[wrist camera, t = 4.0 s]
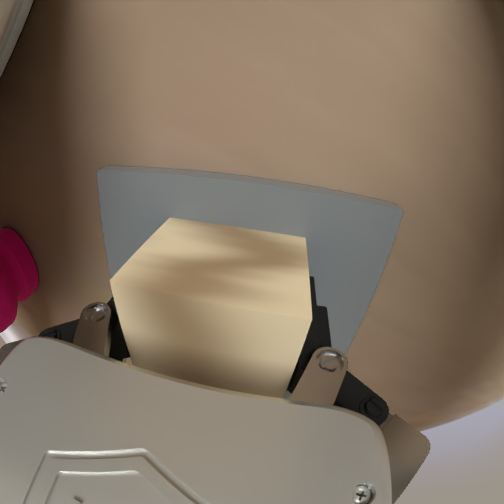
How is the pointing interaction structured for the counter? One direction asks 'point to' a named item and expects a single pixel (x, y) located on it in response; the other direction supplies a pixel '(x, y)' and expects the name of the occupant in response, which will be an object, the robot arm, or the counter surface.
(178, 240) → the maple block
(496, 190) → the counter surface
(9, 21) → the bowl
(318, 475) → the robot arm
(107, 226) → the board
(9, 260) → the pepper mill
